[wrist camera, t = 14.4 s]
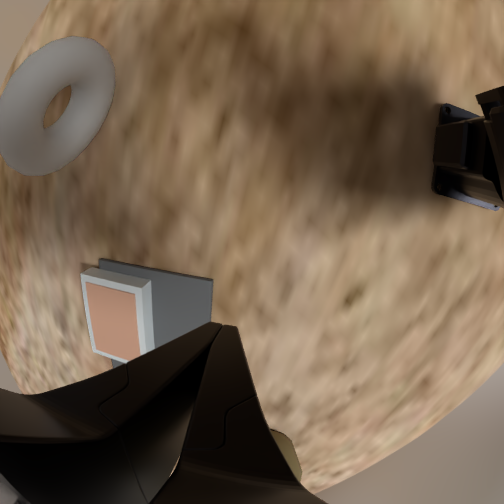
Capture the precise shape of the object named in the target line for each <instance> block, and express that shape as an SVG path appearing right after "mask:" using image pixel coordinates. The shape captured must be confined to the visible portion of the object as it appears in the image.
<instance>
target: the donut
mask: <svg viewBox="0 0 504 504" xmlns="http://www.w3.org/2000/svg"><path fill="white" fill-rule="evenodd" d="M115 83H116V82H115V66H114V64H113V61H112V59H111V57H110V54H109V52H108V50H106V49H105V48H104V47H103V46H102V45H100V44H99V43H98V42H97V41H95V40H93V39H90V38H84V37H77V36H70V37H66V38H62V39H58V40H55V41H52V42H50V43H48V44H46V45H45V46H43V47H42V48H40V49H39V50H37V51H36V52H34V53H33V54H31V55H30V56H28V58H27V59H26V60H25V61H24V62H23V63H22V64H21V65H20V66H19V68H18V69H17V70H16V71H15V72H14V74H13V75H12V76H11V78H10V80H9V82H8V84H7V85H6V87H5V89H4V91H3V94H2V96H1V98H0V153H1V155H2V157H3V158H4V160H5V162H6V163H7V165H8V166H9V167H11V168H12V169H14V170H16V171H17V172H19V173H21V174H23V175H25V176H44V175H47V174H49V173H52V172H55V171H58V170H59V169H61V168H63V167H64V166H66V165H67V164H68V163H70V162H71V161H73V160H74V159H75V158H76V157H77V156H78V155H79V154H80V153H81V152H82V151H83V150H84V149H85V148H86V147H87V146H88V145H89V143H90V142H91V141H92V139H93V138H94V137H95V135H96V134H97V133H98V131H99V129H100V127H101V126H102V124H103V122H104V120H105V118H106V116H107V114H108V111H109V108H110V106H111V103H112V100H113V95H114V90H115ZM69 85H71V88H72V92H71V98H70V101H69V104H68V106H67V107H66V109H65V111H64V113H63V114H62V115H61V117H60V118H59V119H58V120H57V121H56V122H55V123H54V124H53V125H51V126H49V127H47V128H44V127H43V120H44V116H45V112H46V109H47V107H48V106H49V104H50V102H51V100H52V99H53V98H54V97H55V95H56V94H57V93H58V92H59V91H61V90H62V89H63V88H65V87H67V86H69Z"/></svg>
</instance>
